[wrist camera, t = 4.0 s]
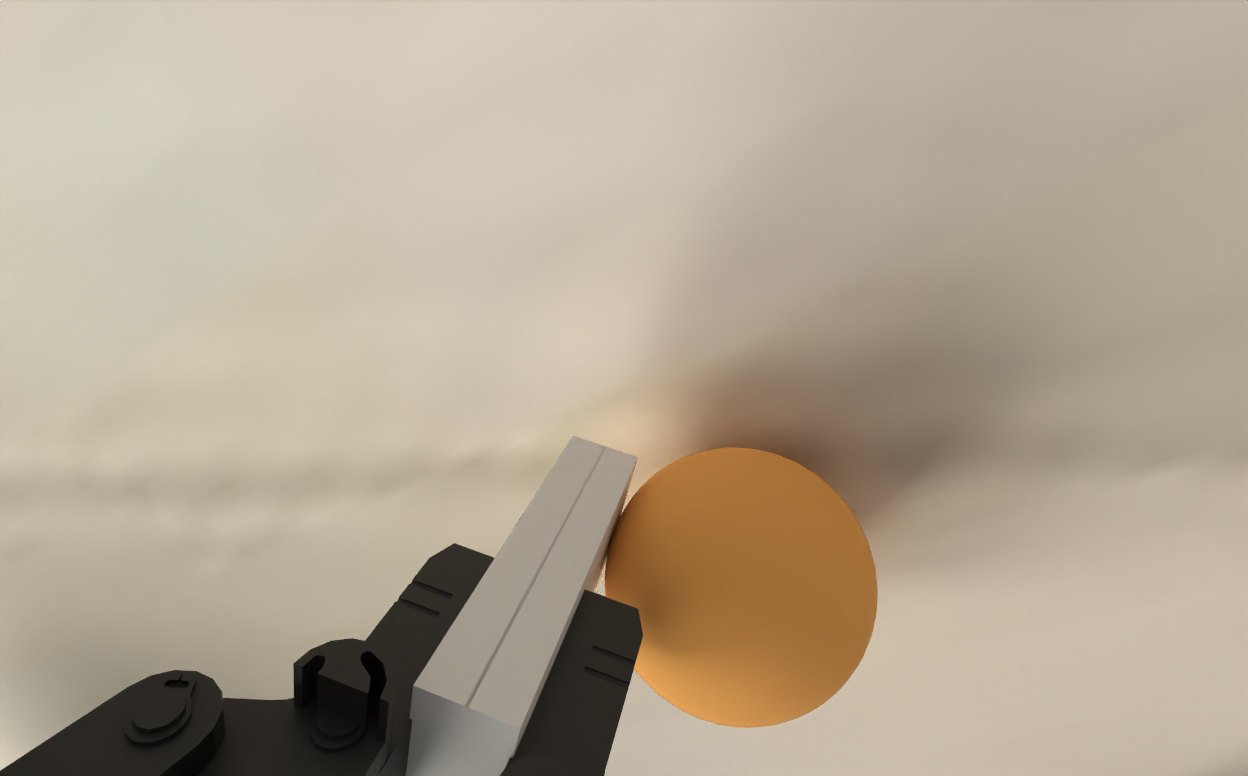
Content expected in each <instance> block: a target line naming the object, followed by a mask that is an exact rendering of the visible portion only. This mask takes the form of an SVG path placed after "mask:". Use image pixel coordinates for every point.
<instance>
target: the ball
mask: <svg viewBox="0 0 1248 776" xmlns="http://www.w3.org/2000/svg"><path fill="white" fill-rule="evenodd" d="M605 592H606V597H607V598H610V599H613V600H616V601H618V602H621V603H624V604H626V605H629V606H632V607H635V608H637V609H638V610H639V615H640V620H641V626H642V631H643V638H642V642H641V645H640V649H639V652H638V656H637V659H636V663H635V666H634V669H635V670H636V671H637V673H638V674H639V675H640V677H641V678H642V679H643V680H644V681H645V682H646V683H647V684H648V685H649V686H650V687H651V688H652V689H653V690H654V691H655V692H656V693H657V694H658V695H660V696H661V697H662V698H664V699H665V700H667V701H668V702H670V703H671V704H672V705H674V706H676V707H677V708H679V709H680V710H682V711H684V712H686V713H688V714H690V715H692V716H694V717H697V718H700V719H702V720H706V721H709V722H712V723H716V724H719V725H725V726H733V727H745V728H750V727H763V726H771V725H776V724H780V723H783V722H786V721H789V720H793V719H796V718H798V717H801V716H803V715H805V714H807V713H809V712H811V711H812V710H814V709H816V708H817V707H819V706H820V705H822V704H823V703H824V702H826V701H827V700H828V699H830V698H831V697H832V696H833V695H834V694H835V693H836V692H837V691H838V690H839V689H840V688H841V687H842V686H843V685H844V684H845V683H846V682H847V680H848V679H849V678H850V676H851V675H852V673H853V672H854V671H855V669H856V668H857V666H858V665H859V663H860V661H861V659H862V657H863V655H864V653H865V650H866V648H867V645H868V643H869V641H870V638H871V635H872V631H873V627H874V622H875V617H876V610H877V580H876V572H875V565H874V562H873V558H872V555H871V551H870V548H869V544H868V541H867V539H866V537H865V535H864V532H863V530H862V528H861V526H860V524H859V523H858V521H857V519H856V518H855V516H854V515H853V513H852V511H851V510H850V508H849V507H848V505H847V504H846V503H845V502H844V501H843V499H842V498H841V497H840V496H839V495H838V494H837V493H836V492H835V491H834V489H833V488H832V487H831V486H830V485H828V484H827V483H826V482H825V481H824V480H823V479H821V478H820V477H819V476H818V475H816V474H815V473H813V472H812V471H810V470H808V469H807V468H805V467H804V466H802V465H800V464H799V463H797V462H795V461H792V460H790V459H787V458H785V457H782V456H780V455H778V454H775V453H771V452H766V451H762V450H757V449H753V448H736V447H727V448H717V449H712V450H706V451H702V452H698V453H695V454H692V455H689V456H686V457H684V458H681V459H679V460H677V461H675V462H673V463H672V464H670V465H668V466H666V467H665V468H663V469H662V470H660V471H659V472H658V473H656V474H655V475H654V476H653V477H651V478H650V479H649V480H648V481H647V482H646V483H645V484H644V485H643V486H642V487H641V488H640V489H639V490H638V491H637V492H636V494H635V495H634V496H633V497H632V499H631V500H630V502H629V503H628V504H627V506H626V508H625V509H624V511H623V513H622V515H621V516H620V518H619V520H618V522H617V524H616V527H615V530H614V532H613V535H612V538H611V541H610V545H609V549H608V553H607V560H606V569H605Z"/></svg>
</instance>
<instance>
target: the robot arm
mask: <svg viewBox="0 0 1248 776" xmlns="http://www.w3.org/2000/svg"><path fill="white" fill-rule="evenodd" d="M636 461H637V457H634V456H631V455H628V454H625V453H623V452H620V451H617V450H614V449H611V448H608V447H605V446H602V445H599V444H596V443H593V442H590V441H587V440H584V439H581V438H578V437H575V436H573V437H572V438H571V440H570V441H569V443H568V444H567V446H566V448H565V449H564V451H563V452H562V454H561V455H560V457H559V459H558V460H557V462H556V463H555V465H554V466H553V468H552V469H551V471H550V473H549V474H548V476H547V477H546V479H545V480H544V482H543V484H542V485H541V487H540V488H539V490H538V491H537V493H536V494H535V496H534V498H533V499H532V501H531V502H530V504H529V505H528V507H527V509H526V510H525V512H524V513H523V515H522V516H521V518H520V519H519V521H518V523H517V524H516V526H515V527H514V529H513V530H512V532H511V534H510V535H509V537H508V538H507V540H506V541H505V543H504V544H503V546H502V548H501V549H500V551H499V552H498V554H497V555H496V557H495V558H493V557H490V556H488V555H485V554H482V553H479V552H477V551H474V550H471V549H469V548H466V547H463V546H460V545H458V544H455V543H454V544H452V545H451V546H449V547H447V548H446V549H444V550H442V551H441V552H439V553H437V554H435V555H434V556H432V557H430V558H429V559H428V561H427V562H426V563H425V564H424V566H423V567H422V568H421V570H420V571H419V572H418V573H417V575H416V576H415V577H414V579H413V581H412V583H411V584H409V585H408V586H407V588H406V589H405V590H404V592H403V593H402V594H401V595H400V597H399V599H398V601H397V602H395V603H394V604H393V606H392V607H391V608H390V610H389V611H388V612H387V613H386V615H385V616H384V617H383V619H382V620H381V621H380V622H379V624H378V625H377V626H376V628H375V629H374V630H373V631H372V633H371V634H370V635H369V637H368V638H367V639H366V640H365V641H363V640H358V639H353V638H352V639H343V640H335V641H330V642H327V643H325V644H323V645H320V646H318V647H316V648H313V649H311V650H309V651H308V652H307V653H306V654H305V655H303V656H302V657H301V658H300V659H299V660H297V661H296V662H295V663H294V698H291V699H287V700H253V699H234V698H222V692H221V690H220V689H219V687H218V686H217V684H216V683H215V681H214V680H213V679H212V678H210V677H207V676H205V675H203V674H201V673H199V672H197V671H180V670H174V671H169V672H165V673H161V674H156V675H152V676H149V677H147V678H145V679H143V680H141V681H139V682H137V683H135V684H133V685H131V686H129V687H127V688H126V689H124V690H123V691H121V692H120V693H118V694H117V695H115V696H114V697H112V698H111V699H109V700H108V701H106V702H105V703H103V704H101V705H100V706H98V707H97V708H95V709H94V710H92V711H91V712H89V713H88V714H86V715H85V716H83V717H82V718H80V719H79V720H77V721H76V722H74V723H72V724H71V725H69V726H68V727H66V728H65V729H63V730H62V731H60V732H59V733H57V734H56V735H54V736H53V737H51V738H50V739H48V740H47V741H45V742H43V743H42V744H40V745H39V746H37V747H36V748H34V749H33V750H31V751H30V752H28V753H27V754H25V755H24V756H22V757H21V758H19V759H18V760H16V761H14V762H13V763H11V764H10V765H8V766H7V767H5V768H4V769H2V770H1V771H0V776H604V773H605V768H606V765H607V761H608V758H609V754H610V751H611V747H612V744H613V740H614V737H615V733H616V730H617V726H618V723H619V719H620V716H621V712H622V709H623V705H624V701H625V698H626V694H627V691H628V687H629V684H630V680H631V677H632V673H633V670H634V666H635V663H636V659H637V656H638V652H639V649H640V645H641V642H642V638H643V631H642V626H641V620H640V615H639V610H638V609H637V608H635V607H632V606H629V605H626V604H624V603H621V602H618V601H616V600H613V599H610V598H607V597H605V596H602V595H599V594H596V593H594V590H595V588H596V586H597V583H598V581H599V578H600V576H601V573H602V571H603V568H604V566H605V563H606V560H607V553H608V549H609V545H610V541H611V538H612V535H613V532H614V530H615V527H616V524H617V522H618V520H619V518H620V516H621V513H622V509H623V506H624V502H625V499H626V496H627V492H628V489H629V485H630V482H631V478H632V475H633V472H634V468H635V465H636Z"/></svg>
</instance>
